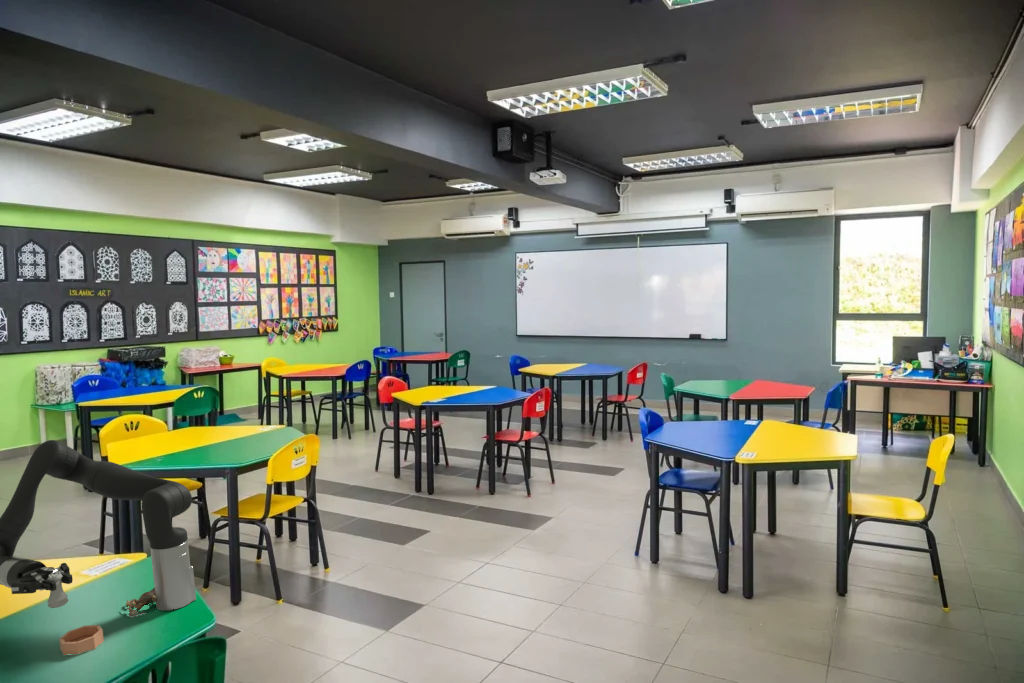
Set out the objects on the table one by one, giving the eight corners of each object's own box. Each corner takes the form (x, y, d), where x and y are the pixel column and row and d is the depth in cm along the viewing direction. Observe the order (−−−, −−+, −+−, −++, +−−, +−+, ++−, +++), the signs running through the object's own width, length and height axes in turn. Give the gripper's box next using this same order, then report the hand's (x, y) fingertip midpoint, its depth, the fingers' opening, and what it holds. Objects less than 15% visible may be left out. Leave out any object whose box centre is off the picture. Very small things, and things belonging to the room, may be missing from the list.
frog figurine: (152, 593, 193) (150, 581, 192) (175, 602, 186) (174, 589, 186) (110, 611, 183) (109, 597, 183) (134, 621, 177) (132, 607, 176)
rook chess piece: (65, 598, 172) (61, 568, 171) (71, 603, 169) (67, 572, 168) (45, 605, 168) (41, 575, 168) (51, 610, 166) (47, 579, 165)
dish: (97, 632, 171) (96, 621, 170) (106, 644, 165) (105, 632, 164) (58, 646, 165) (56, 635, 164) (66, 659, 159) (64, 647, 158)
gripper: (-11, 571, 167) (30, 580, 160) (48, 549, 180) (88, 557, 173) (-7, 600, 168) (34, 610, 161) (51, 576, 181) (92, 585, 174)
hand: (62, 582), depth 167 cm, fingers closed on rook chess piece, 3 cm apart
